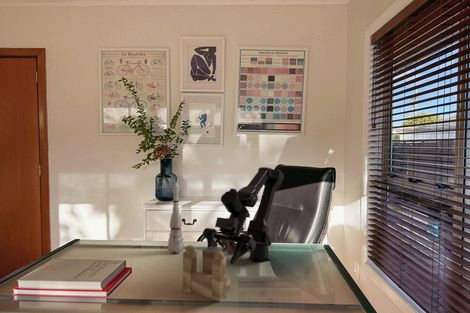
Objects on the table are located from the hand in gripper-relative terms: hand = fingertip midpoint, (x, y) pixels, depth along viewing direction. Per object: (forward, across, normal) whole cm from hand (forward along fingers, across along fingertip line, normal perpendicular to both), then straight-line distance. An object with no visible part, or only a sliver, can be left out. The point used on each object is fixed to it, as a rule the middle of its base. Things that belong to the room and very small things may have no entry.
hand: (219, 261), depth 106 cm
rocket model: (-7, -34, +18) cm, 40 cm away
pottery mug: (-17, -16, +29) cm, 37 cm away
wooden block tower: (+9, 0, +1) cm, 9 cm away
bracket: (+8, 0, +3) cm, 9 cm away
